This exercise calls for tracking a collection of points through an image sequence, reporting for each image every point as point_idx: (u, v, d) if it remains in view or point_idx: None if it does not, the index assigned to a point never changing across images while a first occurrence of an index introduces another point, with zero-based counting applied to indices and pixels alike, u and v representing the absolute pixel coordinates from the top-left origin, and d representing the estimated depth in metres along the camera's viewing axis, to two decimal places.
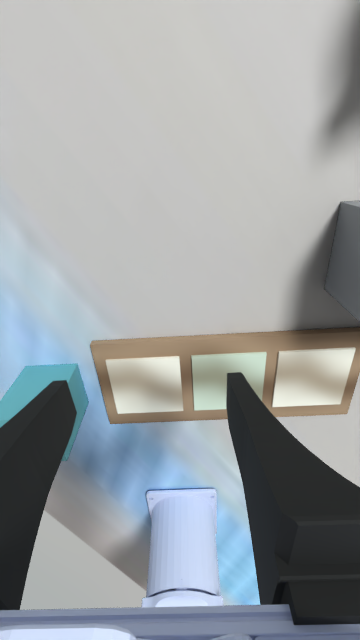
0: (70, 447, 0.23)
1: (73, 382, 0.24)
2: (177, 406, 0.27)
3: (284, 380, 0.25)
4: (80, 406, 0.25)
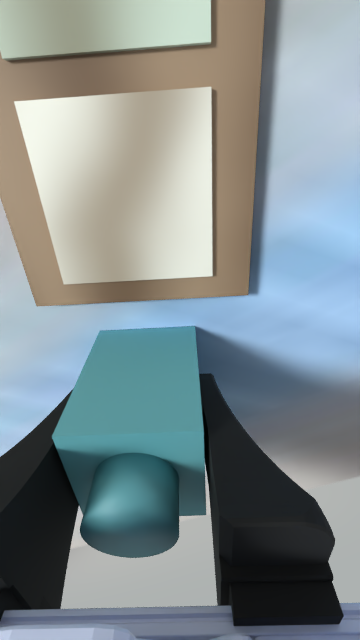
0: (190, 407, 0.09)
1: (107, 349, 0.13)
2: (191, 106, 0.09)
3: None
4: (168, 348, 0.12)
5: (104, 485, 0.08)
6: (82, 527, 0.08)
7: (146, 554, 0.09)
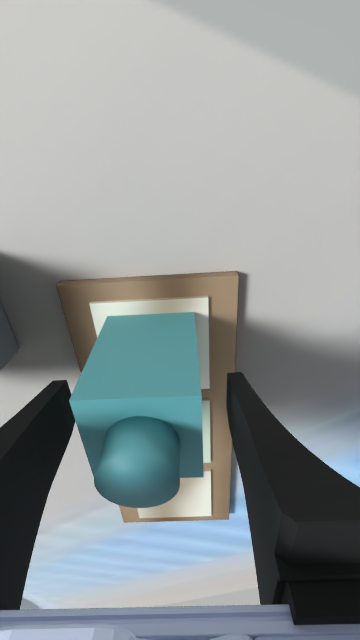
0: (190, 377, 0.11)
1: (114, 331, 0.14)
2: None
3: None
4: (170, 330, 0.14)
5: (115, 442, 0.10)
6: (95, 478, 0.10)
7: (151, 505, 0.10)
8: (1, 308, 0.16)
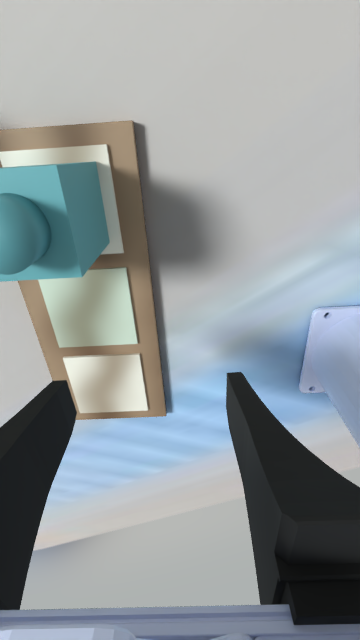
0: None
1: None
2: (132, 359, 0.23)
3: None
4: None
5: None
6: None
7: (17, 272, 0.12)
8: None
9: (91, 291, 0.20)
